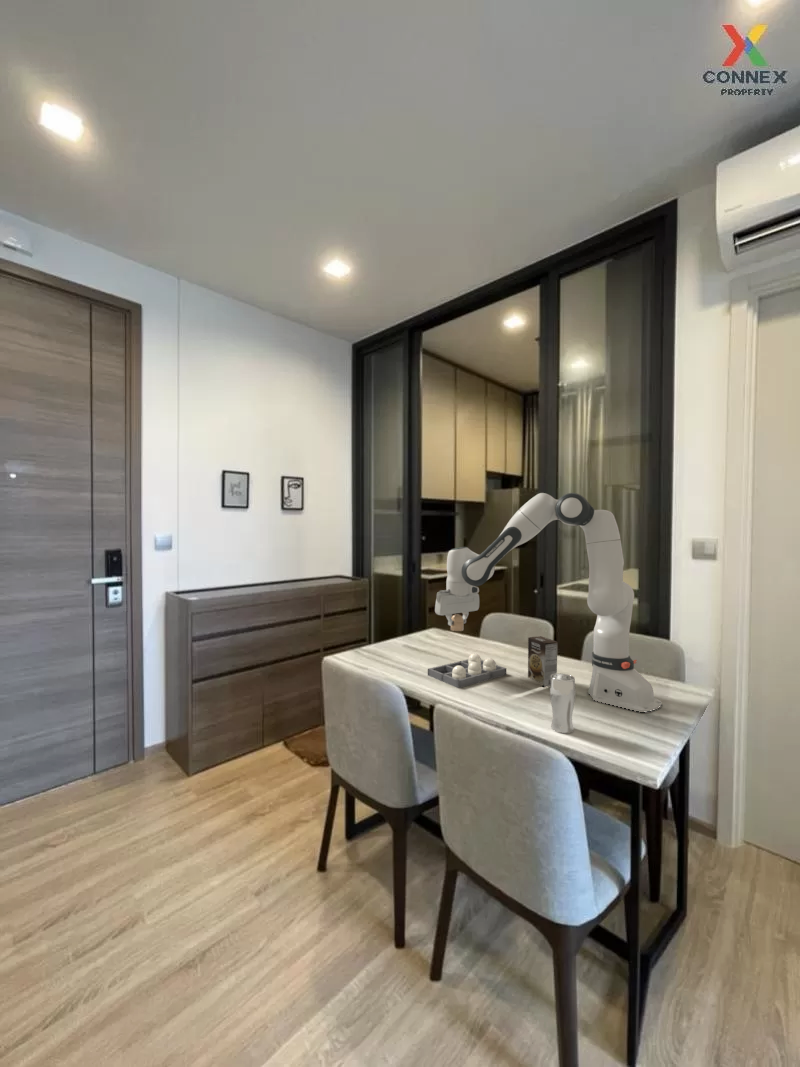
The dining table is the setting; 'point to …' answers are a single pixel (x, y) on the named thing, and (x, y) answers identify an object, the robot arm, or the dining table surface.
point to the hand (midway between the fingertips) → (457, 624)
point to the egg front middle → (474, 668)
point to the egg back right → (474, 658)
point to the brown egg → (457, 623)
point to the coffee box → (542, 659)
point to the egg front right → (489, 664)
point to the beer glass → (562, 701)
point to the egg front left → (459, 672)
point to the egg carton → (445, 674)
